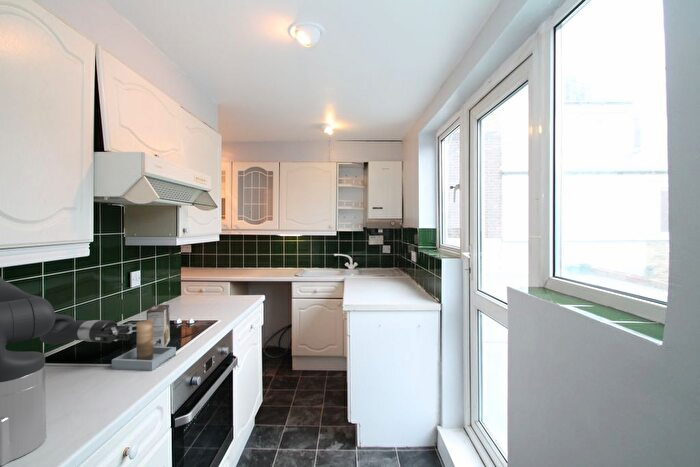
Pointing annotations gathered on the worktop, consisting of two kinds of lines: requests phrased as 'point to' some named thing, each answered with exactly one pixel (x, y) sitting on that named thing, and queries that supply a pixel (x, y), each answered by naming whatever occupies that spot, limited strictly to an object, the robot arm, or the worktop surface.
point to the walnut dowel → (145, 340)
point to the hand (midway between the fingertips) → (138, 332)
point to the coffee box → (160, 324)
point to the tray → (131, 363)
